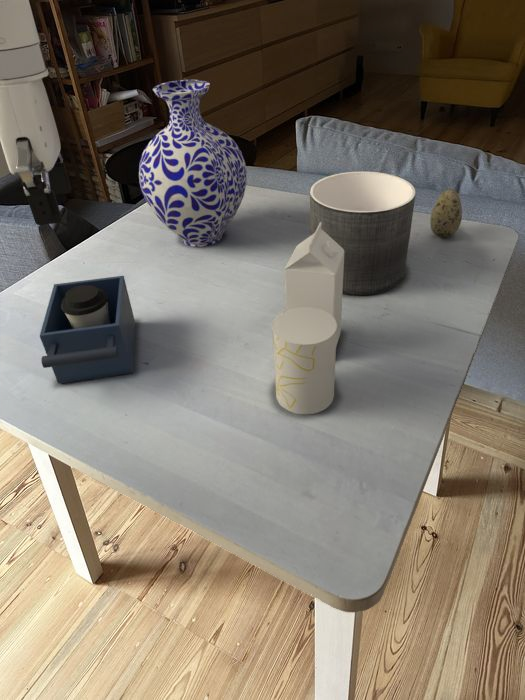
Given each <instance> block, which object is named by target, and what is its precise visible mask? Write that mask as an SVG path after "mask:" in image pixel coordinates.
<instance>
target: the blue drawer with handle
mask: <svg viewBox="0 0 525 700" xmlns="http://www.w3.org/2000/svg"><path fill="white" fill-rule="evenodd" d="M87 285H91V286H94V287H96V288H98V289H101V290H103V291H104V292H105V293H106V295H107V296H108V301H107V304H108V311H109V319H110V324H108V325H100V326H93V327H85V328H78V329H73V328H72V326H71V324H70V322H69V320H68V318H67V316H66V314H65V313H64V312H63V311H62V309H61V303H62V300H63V298H64V297H65V293H66V292H67V291H68V290H70V289H72V288H74V287H76V286H87ZM135 323H136V320H135V316H134V313H133V307H132V304H131V299H130V295H129V292H128V288H127V284H126V279H125V276H124V275H118V276H117V275H116V276H108V277H102V278H93V279H85V280H77V281H69V282H61V283H54V284H53V287H52V291H51V294H50V298H49V300H48V304H47V309H46V312H45V316H44V319H43V321H42V325H41V329H40V331H39V338H40V340H41V343H42V346H43V348H44V351H45V353H46V355H42V356H41V358H40V359H41V361H40V362H41V365H42V367H43V369H48V368H51V370H52V372H53V374H54V376H55V379H56V381H57V384H58V385H59V384H66V383H73V382H79V381H86V380H95V379H100V378H101V379H102V378H108V377H114V376H115V377H116V376H121V375H131V374H133V366H134V347H135V346H134V345H135V344H134V343H135V326H136V325H135Z"/></svg>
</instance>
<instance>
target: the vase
mask: <svg viewBox="0 0 525 700" xmlns="http://www.w3.org/2000/svg"><path fill="white" fill-rule="evenodd" d="M210 84H211V83H210V82H209V81H206V80H201V79H179V80H172V81H167V82H163V83H158V84H157V85H155V86H153V88H152V91H153V92H154V94H155V96H156V97H157V98H160V99H162V100H164V102H166V104H167V106H168V110H169V122H168V125H166V126H165V127H164V128H163V129H161V130H160V131H159V132H158V133H157V134H156V135H155V136H154V137H152V139H151V140H150V141H149V142H148V143H147V145H146V146H145V148H144V149H143V152H142V154H141V156H140V160H139V165H138V167H139V168H138V179H139V186H140V189H141V194H142V196H143V197H144V200H145V201H146V203H147V205H148V207H149V208H150V209H151V210H152V212H153V213H154V215H155V216H156V217H157V218H158V219H159V221H161V223H162V224H163V225H164V226H166V228H167V229H168V230H170V231H171V233H173V234H174V235H175V236H176V237H178V238H179V239H180V241H181V243H182V244H183V245H185V246H189V247H195V248H198V247H199V248H202V247H208V246H212V245H214V244H216V243H218V242H219V241H220V240H221V239H222V238H223V234H224V232H225V231H226V229H227V228H228V226H230V224H231V222H232V221H233V219H234V218H235V216H236V214H237V212H238V210H239V208H240V207H241V203H242V201H243V199H244V196H245V193H246V187H247V184H248V182H247V181H248V171H247V165H246V161H245V157H244V155H243V153H242V151H241V149H240V147H239V145H238V144H237V143H236V142H235V140H234V139H233V138H232V137H230V136H229V135H228V134H226V132H224V131H223V130H221V129H220V128H218V127H216V126H214V125H212V124H210V123H208V122H206V121H204V119H203V117H202V115H201V111H200V101H201V98H202V96H203V95H204V94H206V93H207V92H208V91H209V88H210V86H211V85H210Z"/></svg>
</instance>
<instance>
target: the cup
mask: <svg viewBox="0 0 525 700" xmlns="http://www.w3.org/2000/svg"><path fill="white" fill-rule="evenodd" d="M336 332H337V323H336V320H335V319H334V317H333V316H332V315H330V314H329V313H328V312H326V311H323V310H321V309H317V308H312V307H298V308H293V309H289V310H287V311H286V310H285V311H282V312H281V313H279V314H278V315H277V316H276V317H275V318H274V320H273V322H272V337H273V340H272V341H273V359H274V361H273V362H274V377H275V378H274V379H275V396H276V401H277V402H278V404H279V405H280V407H282V408H283V409H284V410H286V411H288V412H290V413H293V414H296V415H313V414H318V413H320V412H322V411H324V410H326V409H327V408H329V406H330V405H332V403H333V401H334V397H335V378H336V377H335V376H336V356H337V354H336V352H337V346H336Z"/></svg>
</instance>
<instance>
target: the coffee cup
mask: <svg viewBox="0 0 525 700" xmlns="http://www.w3.org/2000/svg"><path fill="white" fill-rule="evenodd" d="M107 301H108V296H107V295H106V293H105V292H104V291H103V290H101V289H98V288H96V287H94V286H91V285H87V286H76V287H74V288H72V289H70V290H68V291H67V292H66V293H65V297H64V298H63V300H62V303H61V309H62V311H63V312H64V313H65V314H66V316H67V318H68V320H69V322H70V324H71V326H72V328H73V329H78V328H85V327H93V326H100V325H108V324H110V319H109V311H108V304H107Z"/></svg>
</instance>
